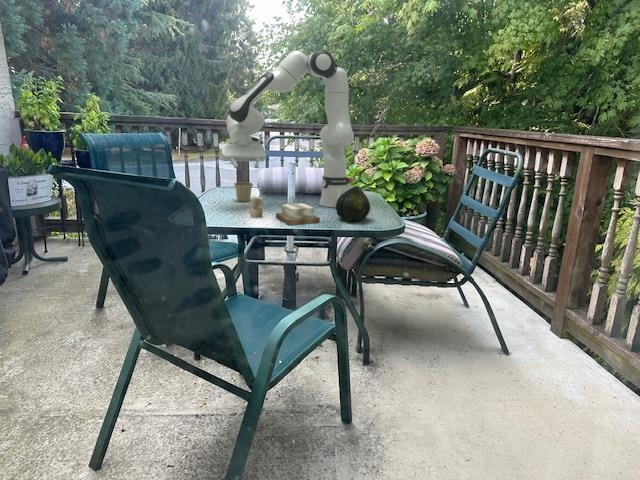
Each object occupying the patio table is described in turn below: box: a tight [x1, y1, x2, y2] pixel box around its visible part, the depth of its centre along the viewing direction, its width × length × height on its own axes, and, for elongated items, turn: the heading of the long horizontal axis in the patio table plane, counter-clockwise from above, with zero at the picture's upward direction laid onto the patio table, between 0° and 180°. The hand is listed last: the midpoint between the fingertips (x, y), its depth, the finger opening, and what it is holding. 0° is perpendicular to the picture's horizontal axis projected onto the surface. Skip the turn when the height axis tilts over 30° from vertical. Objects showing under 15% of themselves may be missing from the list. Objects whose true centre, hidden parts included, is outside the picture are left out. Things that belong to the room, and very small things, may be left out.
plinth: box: [275, 202, 321, 226], centre depth 187 cm, size 14×14×6 cm
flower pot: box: [233, 181, 254, 203], centre depth 225 cm, size 9×9×9 cm
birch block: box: [249, 196, 263, 219], centre depth 192 cm, size 4×4×8 cm
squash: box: [334, 185, 371, 223], centre depth 191 cm, size 14×15×15 cm
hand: (246, 167), depth 198 cm, fingers open, 8 cm apart
